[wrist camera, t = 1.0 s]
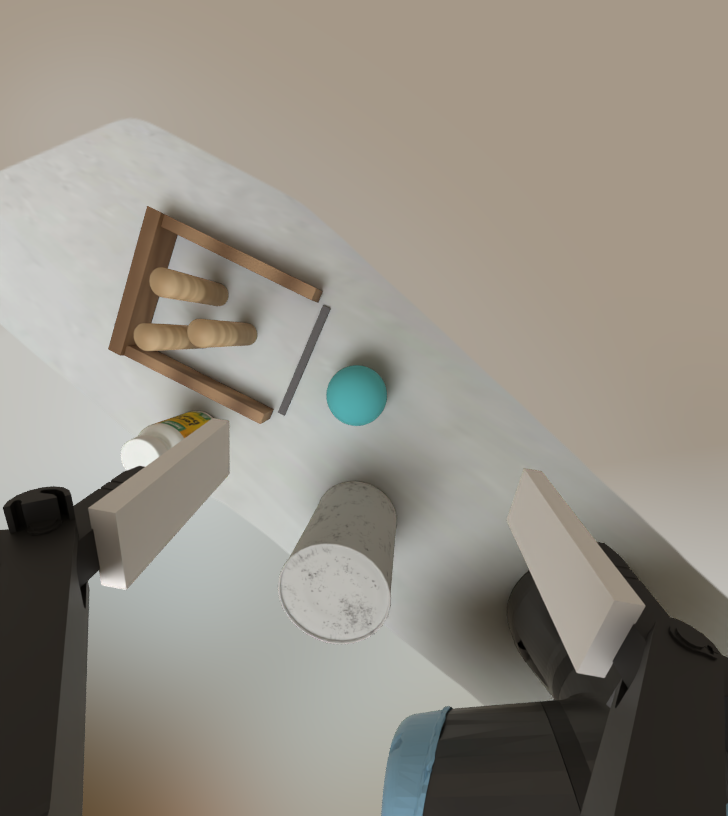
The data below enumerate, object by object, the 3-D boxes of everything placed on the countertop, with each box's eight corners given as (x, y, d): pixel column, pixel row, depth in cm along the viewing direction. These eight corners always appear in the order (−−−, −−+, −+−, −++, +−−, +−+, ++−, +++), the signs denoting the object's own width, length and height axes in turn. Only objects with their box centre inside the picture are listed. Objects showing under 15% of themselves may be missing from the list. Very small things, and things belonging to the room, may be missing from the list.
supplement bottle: (183, 452, 42) (117, 485, 32) (177, 409, 41) (108, 430, 31) (224, 454, 41) (169, 488, 32) (220, 410, 40) (162, 432, 31)
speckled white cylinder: (323, 557, 42) (288, 644, 30) (310, 484, 40) (268, 546, 28) (401, 553, 40) (397, 644, 29) (391, 477, 39) (382, 540, 27)
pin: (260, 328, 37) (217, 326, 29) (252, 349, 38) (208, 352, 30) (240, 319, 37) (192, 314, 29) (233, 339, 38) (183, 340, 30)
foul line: (330, 308, 36) (330, 308, 36) (284, 415, 39) (284, 415, 39) (323, 305, 36) (323, 305, 36) (278, 411, 39) (277, 412, 39)
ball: (398, 378, 36) (395, 386, 31) (373, 427, 38) (367, 443, 32) (347, 353, 37) (335, 356, 31) (325, 403, 38) (309, 414, 32)
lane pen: (322, 291, 36) (314, 287, 33) (269, 418, 39) (258, 425, 36) (168, 216, 36) (147, 205, 33) (130, 348, 40) (108, 349, 37)
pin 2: (216, 331, 38) (162, 330, 30) (209, 351, 39) (154, 355, 30) (197, 322, 38) (137, 318, 30) (190, 342, 39) (130, 343, 30)
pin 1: (231, 288, 37) (179, 274, 29) (223, 309, 37) (170, 302, 29) (211, 279, 37) (154, 262, 29) (204, 300, 38) (146, 289, 29)
